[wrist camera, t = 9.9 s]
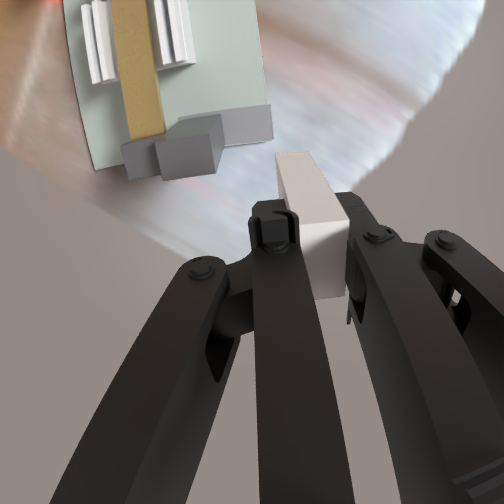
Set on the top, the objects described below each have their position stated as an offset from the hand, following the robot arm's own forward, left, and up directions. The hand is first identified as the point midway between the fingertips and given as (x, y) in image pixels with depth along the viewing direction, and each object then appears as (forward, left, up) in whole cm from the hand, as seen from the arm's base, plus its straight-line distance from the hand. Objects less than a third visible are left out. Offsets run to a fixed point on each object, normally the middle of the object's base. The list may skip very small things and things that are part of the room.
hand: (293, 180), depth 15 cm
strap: (-8, -10, -13) cm, 19 cm away
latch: (+1, -8, -18) cm, 20 cm away
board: (-8, -10, -19) cm, 23 cm away
